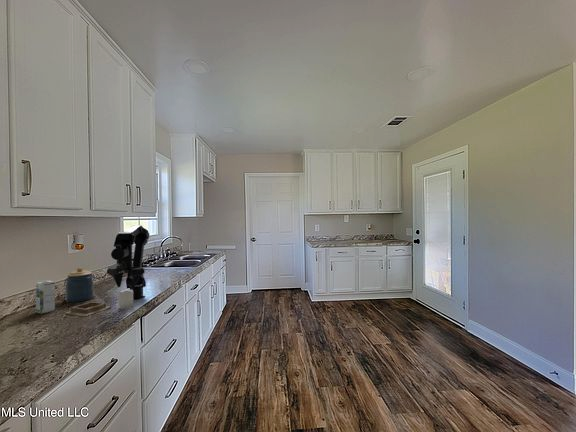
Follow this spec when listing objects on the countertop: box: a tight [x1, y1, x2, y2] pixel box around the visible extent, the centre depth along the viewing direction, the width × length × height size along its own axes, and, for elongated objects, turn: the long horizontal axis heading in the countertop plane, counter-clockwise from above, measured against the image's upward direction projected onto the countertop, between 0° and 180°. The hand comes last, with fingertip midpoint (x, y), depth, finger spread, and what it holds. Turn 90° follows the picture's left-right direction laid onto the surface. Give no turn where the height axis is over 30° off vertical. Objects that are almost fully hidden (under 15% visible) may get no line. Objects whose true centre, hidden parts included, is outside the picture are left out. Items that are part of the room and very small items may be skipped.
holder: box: [64, 301, 112, 318], centre depth 136 cm, size 13×13×3 cm
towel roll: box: [118, 289, 134, 310], centre depth 141 cm, size 6×6×8 cm
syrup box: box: [35, 280, 56, 314], centre depth 136 cm, size 6×6×14 cm
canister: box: [64, 267, 95, 303], centre depth 156 cm, size 13×13×18 cm
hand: (126, 287), depth 141 cm, fingers open, 9 cm apart
